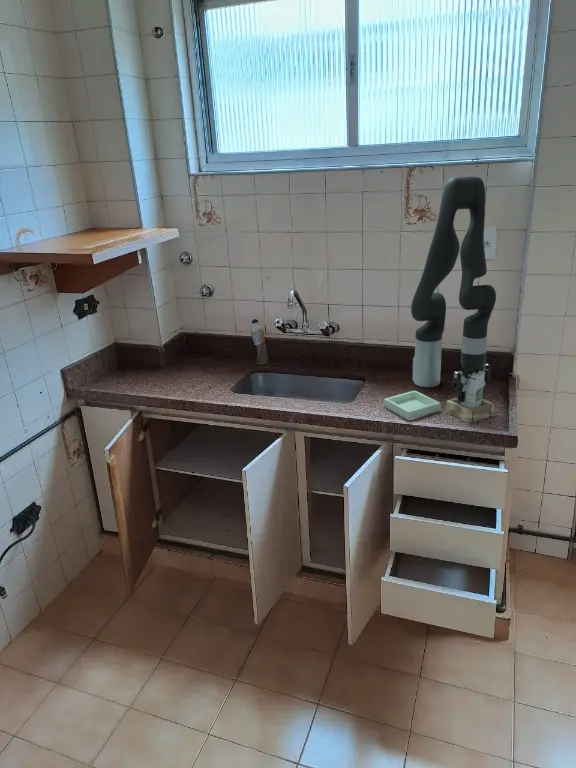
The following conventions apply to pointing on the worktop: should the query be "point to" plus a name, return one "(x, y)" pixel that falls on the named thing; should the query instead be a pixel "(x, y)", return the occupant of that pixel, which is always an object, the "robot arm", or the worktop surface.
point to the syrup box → (473, 391)
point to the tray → (412, 404)
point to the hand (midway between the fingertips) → (470, 398)
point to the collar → (468, 414)
